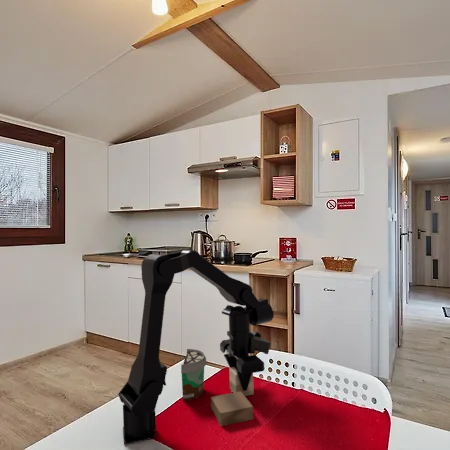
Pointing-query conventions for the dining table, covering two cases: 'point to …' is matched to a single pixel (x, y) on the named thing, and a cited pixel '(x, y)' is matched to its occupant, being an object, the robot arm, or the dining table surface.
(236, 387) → the birch block
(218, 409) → the walnut base
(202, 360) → the food container
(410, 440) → the dining table surface
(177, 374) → the dining table surface
